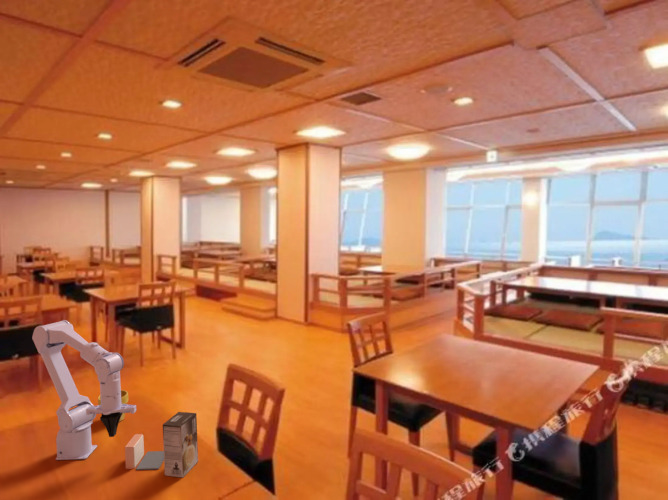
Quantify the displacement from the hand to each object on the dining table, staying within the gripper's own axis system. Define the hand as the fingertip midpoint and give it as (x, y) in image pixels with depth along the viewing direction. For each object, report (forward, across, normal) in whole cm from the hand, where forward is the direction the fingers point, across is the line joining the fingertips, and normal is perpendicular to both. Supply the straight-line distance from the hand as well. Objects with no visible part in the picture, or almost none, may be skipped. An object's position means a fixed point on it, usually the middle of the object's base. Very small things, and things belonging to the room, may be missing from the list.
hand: (112, 435), depth 140 cm
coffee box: (+9, +22, -5) cm, 25 cm away
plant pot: (+9, -13, +30) cm, 34 cm away
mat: (+9, +12, 0) cm, 15 cm away
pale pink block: (+9, +6, 0) cm, 11 cm away
